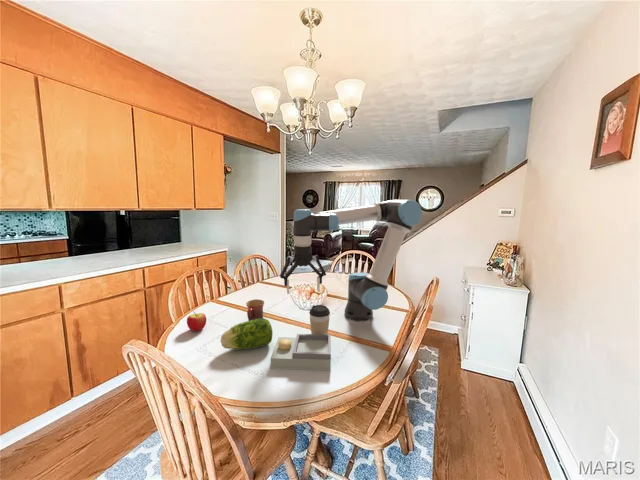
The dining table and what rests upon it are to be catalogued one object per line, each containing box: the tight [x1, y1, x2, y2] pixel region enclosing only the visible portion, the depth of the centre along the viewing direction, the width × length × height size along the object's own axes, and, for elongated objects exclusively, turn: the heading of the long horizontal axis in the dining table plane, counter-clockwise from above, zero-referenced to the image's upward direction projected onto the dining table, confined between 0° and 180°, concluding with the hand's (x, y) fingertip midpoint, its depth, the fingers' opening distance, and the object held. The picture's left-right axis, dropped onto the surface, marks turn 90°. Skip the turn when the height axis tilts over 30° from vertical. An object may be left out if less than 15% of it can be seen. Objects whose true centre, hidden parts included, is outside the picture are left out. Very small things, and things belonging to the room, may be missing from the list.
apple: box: [186, 311, 207, 332], centre depth 124 cm, size 8×8×10 cm
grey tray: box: [270, 333, 332, 371], centre depth 104 cm, size 22×15×6 cm
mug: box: [245, 298, 265, 321], centre depth 131 cm, size 12×9×10 cm
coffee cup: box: [308, 304, 331, 335], centre depth 117 cm, size 9×9×15 cm
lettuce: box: [220, 317, 274, 351], centre depth 110 cm, size 12×21×11 cm, turn 117°
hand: (303, 291), depth 118 cm, fingers open, 13 cm apart
